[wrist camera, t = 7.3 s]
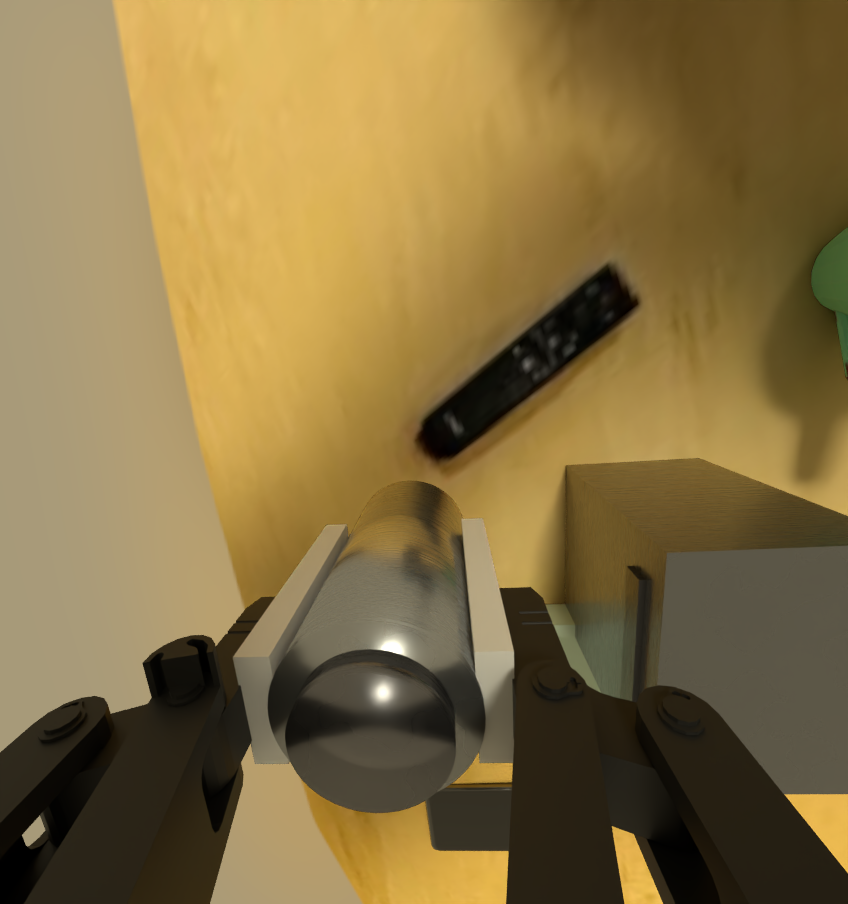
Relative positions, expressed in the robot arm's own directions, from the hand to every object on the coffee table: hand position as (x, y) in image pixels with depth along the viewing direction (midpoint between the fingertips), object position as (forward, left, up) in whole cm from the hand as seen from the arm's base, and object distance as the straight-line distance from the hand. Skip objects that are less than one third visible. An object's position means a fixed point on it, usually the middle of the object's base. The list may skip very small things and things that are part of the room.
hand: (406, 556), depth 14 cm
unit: (+7, +14, -14) cm, 22 cm away
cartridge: (0, 0, -2) cm, 2 cm away
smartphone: (+33, +6, -15) cm, 37 cm away
